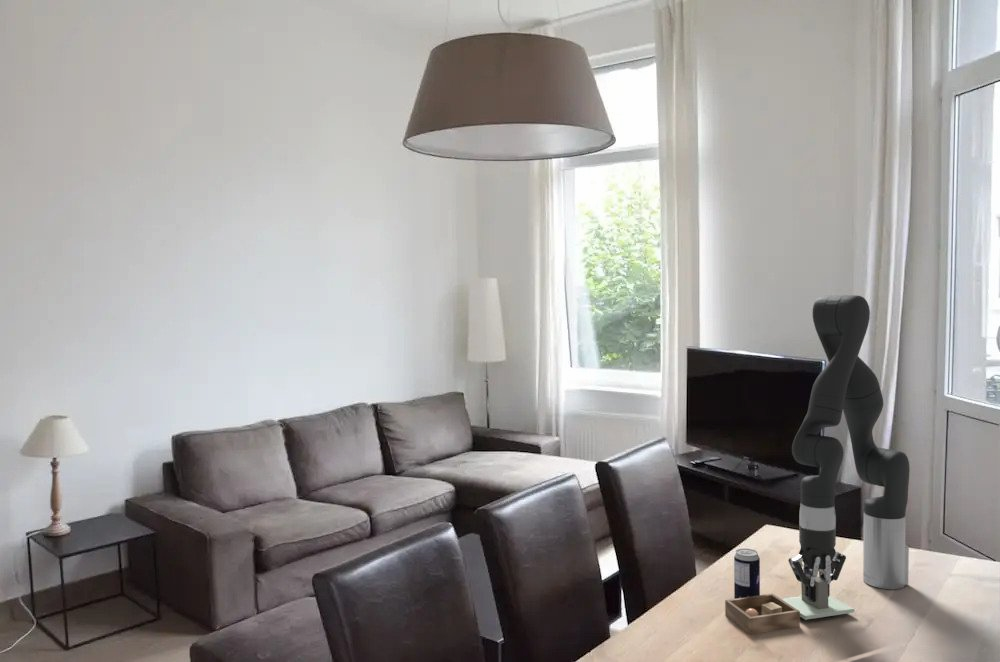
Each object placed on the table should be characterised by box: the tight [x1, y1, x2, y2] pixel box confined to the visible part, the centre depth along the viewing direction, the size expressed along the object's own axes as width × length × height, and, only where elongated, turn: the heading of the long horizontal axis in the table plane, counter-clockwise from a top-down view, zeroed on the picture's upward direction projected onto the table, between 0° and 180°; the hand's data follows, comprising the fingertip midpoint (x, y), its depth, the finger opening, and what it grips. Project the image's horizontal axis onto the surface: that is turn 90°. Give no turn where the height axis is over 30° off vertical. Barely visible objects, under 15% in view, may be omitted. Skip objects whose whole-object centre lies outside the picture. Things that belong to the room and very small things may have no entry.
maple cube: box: [762, 602, 782, 615], centre depth 173 cm, size 3×3×3 cm
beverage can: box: [733, 548, 761, 599], centre depth 183 cm, size 6×6×12 cm
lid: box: [781, 575, 855, 621], centre depth 176 cm, size 12×10×7 cm
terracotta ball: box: [745, 608, 759, 617], centre depth 171 cm, size 3×3×3 cm
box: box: [724, 593, 801, 635], centre depth 172 cm, size 12×10×4 cm
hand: (817, 599), depth 175 cm, fingers closed on lid, 2 cm apart
